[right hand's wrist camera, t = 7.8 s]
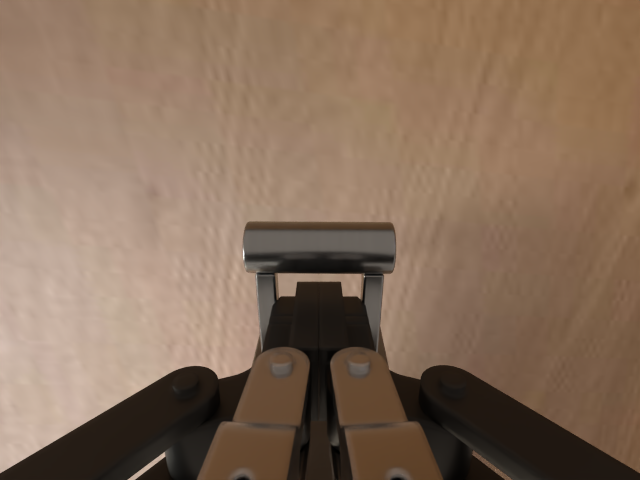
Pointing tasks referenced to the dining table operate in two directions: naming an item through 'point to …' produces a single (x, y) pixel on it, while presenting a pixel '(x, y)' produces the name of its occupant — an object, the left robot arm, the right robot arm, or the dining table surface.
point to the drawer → (320, 257)
